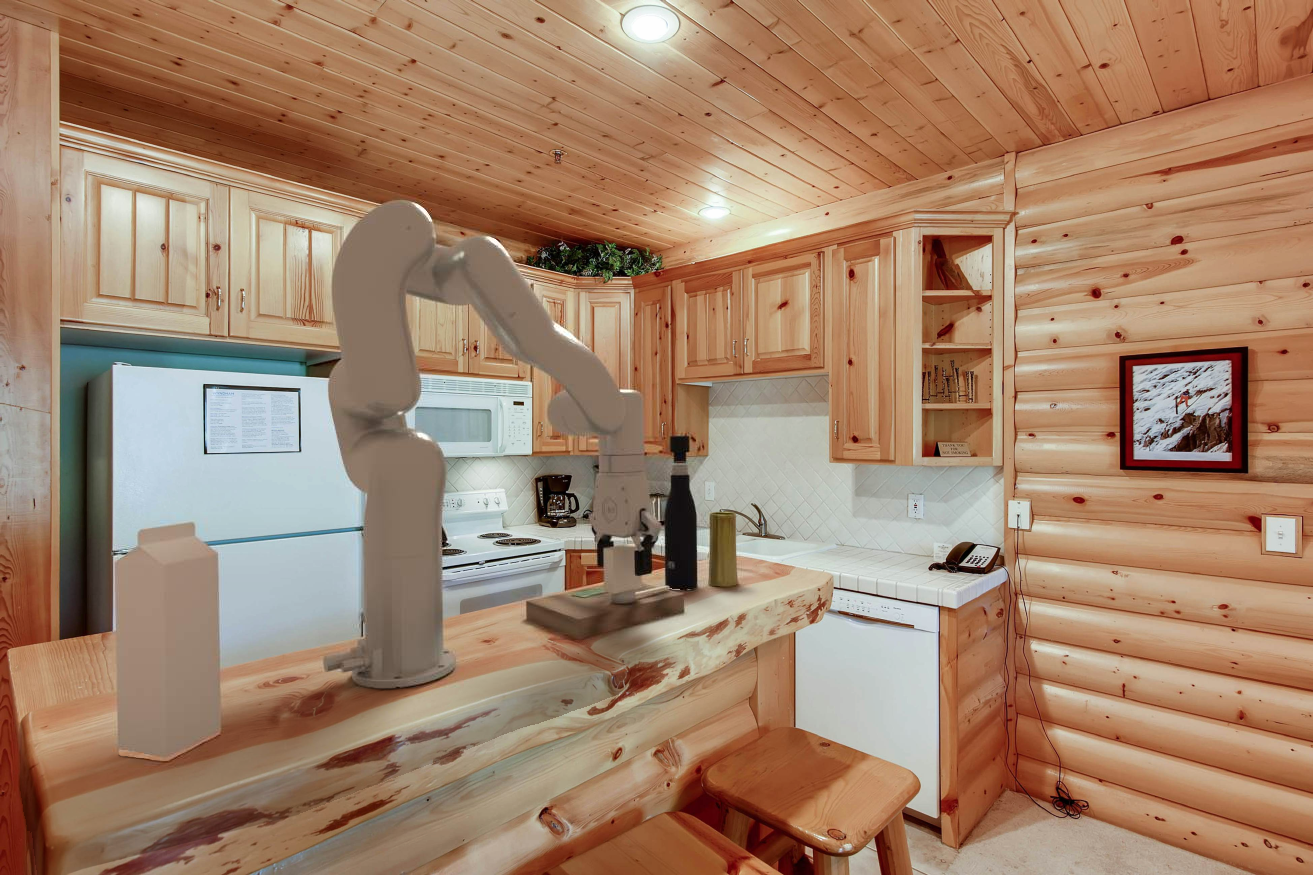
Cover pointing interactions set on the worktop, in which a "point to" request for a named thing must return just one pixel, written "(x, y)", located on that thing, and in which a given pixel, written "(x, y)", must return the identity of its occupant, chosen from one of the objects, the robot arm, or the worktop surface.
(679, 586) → the black bottle
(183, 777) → the worktop surface
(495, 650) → the worktop surface
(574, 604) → the dial board
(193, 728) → the milk
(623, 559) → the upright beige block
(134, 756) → the worktop surface
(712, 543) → the vase
